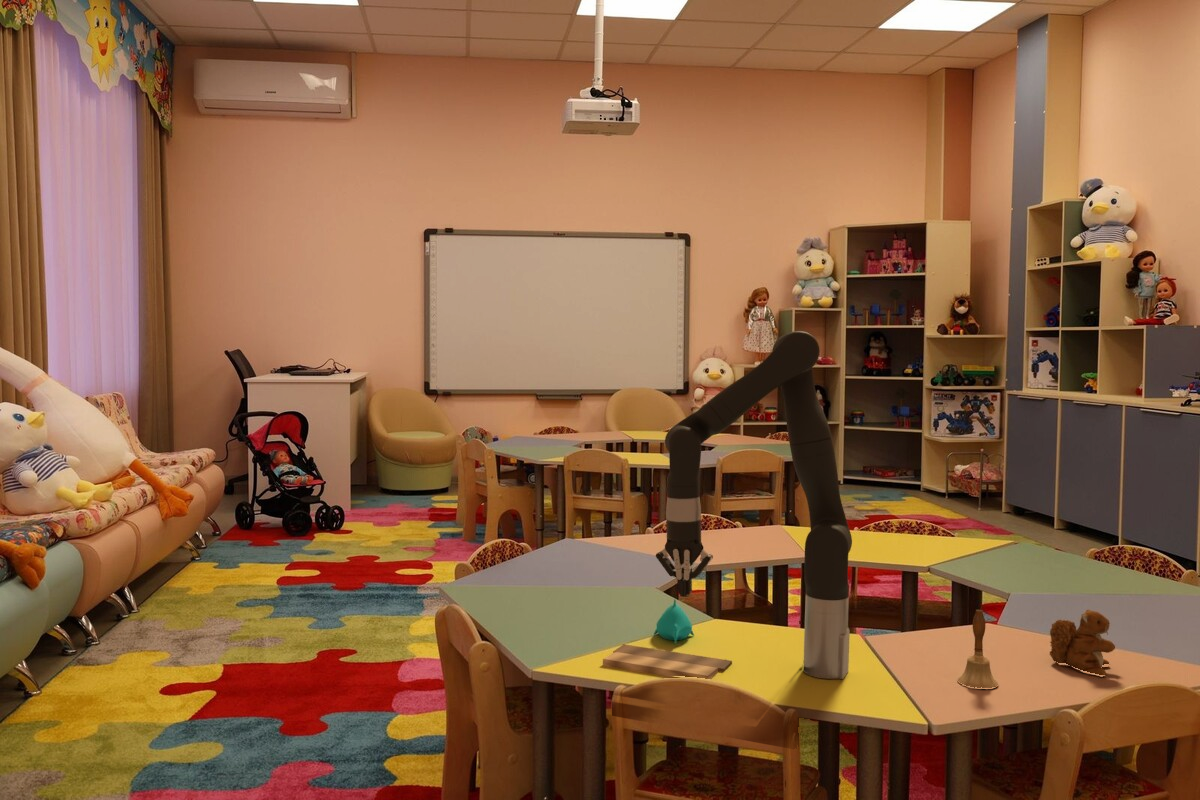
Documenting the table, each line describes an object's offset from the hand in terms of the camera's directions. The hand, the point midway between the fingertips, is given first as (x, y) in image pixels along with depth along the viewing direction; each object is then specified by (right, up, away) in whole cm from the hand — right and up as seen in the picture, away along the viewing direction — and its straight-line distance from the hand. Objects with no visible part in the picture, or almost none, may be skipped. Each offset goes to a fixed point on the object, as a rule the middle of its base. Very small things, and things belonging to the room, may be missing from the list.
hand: (684, 595), depth 223 cm
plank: (-6, -16, -2) cm, 17 cm away
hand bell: (+62, -18, -5) cm, 65 cm away
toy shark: (-1, -15, +20) cm, 26 cm away
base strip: (-2, -16, +5) cm, 17 cm away
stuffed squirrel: (+90, -18, +7) cm, 92 cm away
